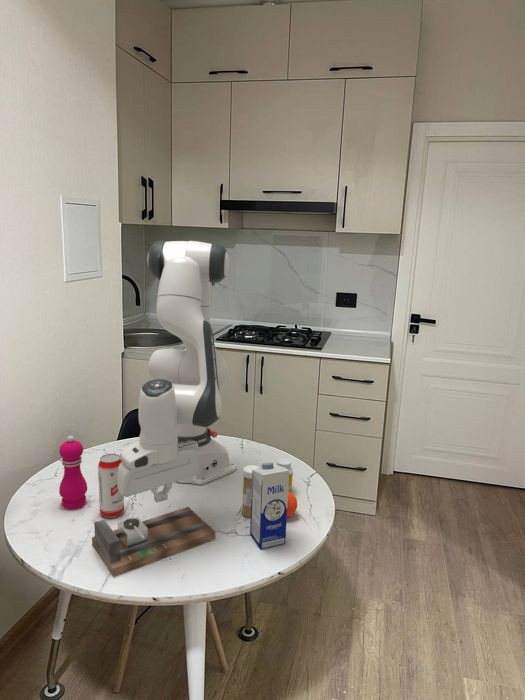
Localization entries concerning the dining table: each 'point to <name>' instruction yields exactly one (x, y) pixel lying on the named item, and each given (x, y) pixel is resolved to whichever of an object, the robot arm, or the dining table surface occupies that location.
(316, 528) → the dining table surface
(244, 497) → the sprinkles bottle
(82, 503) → the pepper mill
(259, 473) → the milk carton
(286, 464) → the supplement bottle
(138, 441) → the robot arm
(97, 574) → the dining table surface
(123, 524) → the gauge carriage
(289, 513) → the clementine
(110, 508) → the beer can
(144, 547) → the gauge base
